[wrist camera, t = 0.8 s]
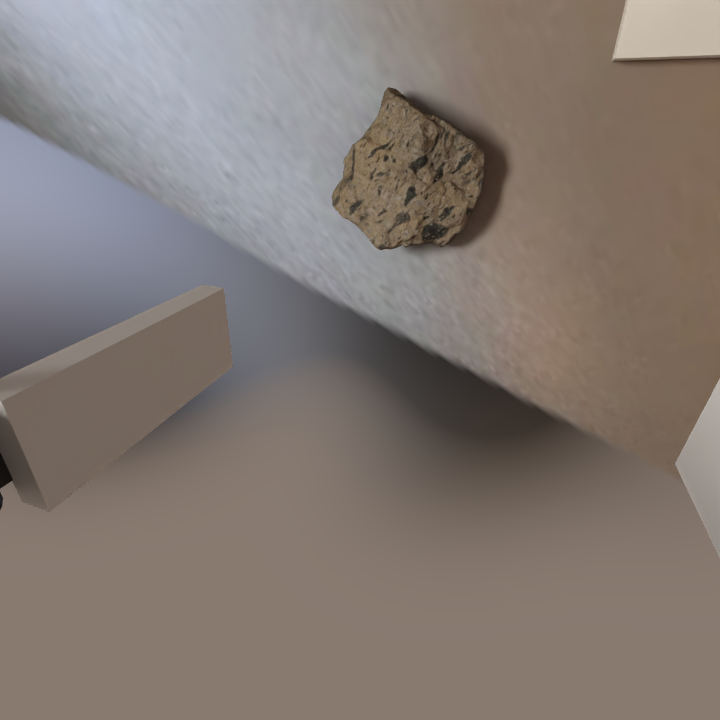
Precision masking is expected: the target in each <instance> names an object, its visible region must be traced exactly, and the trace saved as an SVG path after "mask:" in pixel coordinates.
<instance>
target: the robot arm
mask: <svg viewBox="0 0 720 720" xmlns="http://www.w3.org/2000/svg"><path fill="white" fill-rule="evenodd" d="M232 366H233V364H232V356H231V347H230V338H229V330H228V321H227V313H226V304H225V295H224V288H218V287H212V286H207V285H201V286H199V287H197V288H195V289H192V290H190V291H188V292H186V293H184V294H182V295H180V296H177V297H175V298H173V299H171V300H169V301H167V302H164V303H162V304H160V305H158V306H156V307H154V308H151V309H149V310H147V311H145V312H143V313H141V314H138V315H136V316H134V317H132V318H130V319H128V320H126V321H123V322H121V323H119V324H117V325H115V326H113V327H110V328H108V329H106V330H104V331H102V332H100V333H97V334H95V335H93V336H91V337H89V338H87V339H84V340H82V341H80V342H78V343H76V344H74V345H72V346H69V347H67V348H65V349H63V350H61V351H59V352H56V353H54V354H52V355H50V356H48V357H46V358H43V359H41V360H39V361H37V362H35V363H33V364H31V365H28V366H26V367H24V368H22V369H20V370H18V371H16V372H13V373H11V374H9V375H7V376H5V377H2V378H0V488H2V487H3V486H5V485H6V484H8V483H9V482H11V481H13V483H14V485H15V487H16V489H17V491H18V493H19V496H20V498H21V500H22V502H24V503H27V504H30V505H33V506H35V507H38V508H41V509H43V510H46V511H48V512H50V511H51V510H53V509H54V508H55V507H56V506H58V505H59V504H60V503H61V502H63V501H64V500H65V499H66V498H68V497H69V496H70V495H72V494H73V493H74V492H75V491H77V490H78V489H79V488H80V487H82V486H83V485H84V484H85V483H86V482H87V481H89V480H90V479H92V478H93V477H94V476H95V475H97V474H98V473H99V472H100V471H102V470H103V469H104V468H106V467H107V466H108V465H109V464H111V463H112V462H113V461H114V460H116V459H117V458H118V457H119V456H121V455H122V454H123V453H124V452H126V451H127V450H128V449H129V448H131V447H132V446H133V445H134V444H136V443H137V442H138V441H140V440H141V439H142V438H143V437H145V436H146V435H147V434H148V433H150V432H151V431H152V430H153V429H155V428H156V427H157V426H158V425H160V424H161V423H162V422H163V421H165V420H166V419H167V418H168V417H170V416H171V415H172V414H173V413H175V412H176V411H177V410H178V409H180V408H181V407H182V406H183V405H185V404H186V403H187V402H188V401H190V400H191V399H192V398H193V397H195V396H196V395H197V394H199V393H200V392H201V391H202V390H204V389H205V388H206V387H207V386H209V385H210V384H211V383H212V382H214V381H215V380H216V379H218V378H219V377H220V376H221V375H223V374H224V373H225V372H226V371H228V370H229V369H230V368H231V367H232ZM675 465H676V467H677V469H678V471H679V473H680V475H681V477H682V480H683V482H684V484H685V486H686V488H687V490H688V492H689V494H690V496H691V499H692V500H693V503H694V505H695V507H696V509H697V511H698V513H699V515H700V517H701V520H702V522H703V524H704V526H705V528H706V530H707V532H708V534H709V536H710V538H711V541H712V543H713V545H714V547H715V549H716V551H717V553H718V555H719V558H720V379H719V381H718V383H717V385H716V387H715V389H714V391H713V393H712V394H711V396H710V398H709V400H708V402H707V404H706V406H705V408H704V410H703V412H702V413H701V415H700V417H699V419H698V421H697V423H696V425H695V427H694V429H693V431H692V433H691V434H690V436H689V438H688V440H687V442H686V444H685V446H684V448H683V450H682V452H681V454H680V455H679V457H678V459H677V461H676V463H675ZM2 501H3V497H2V495H1V493H0V509H1V507H2Z"/></svg>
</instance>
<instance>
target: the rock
mask: <svg viewBox="0 0 720 720" xmlns="http://www.w3.org/2000/svg"><path fill="white" fill-rule="evenodd" d="M343 163H344V165H345V167H344V172H343V179H342V180H341V181H340V183H339V184H338V185H337V187H336V189H335V190H334V192H333V195H332V201H333V207H334V208H335V209H336V210H337V211H338V212H339V214H340V215H341V216H342V217H343V218H345V219H348V220H350V221H351V222H353V223H354V224H356V225H357V226H358V227H359V228H360V229H361V230H362V231H363V232H364V233H365V234H366V235H367V237H368V238H369V239H370V241H371V243H372V244H373V245H374V246H375V247H376V248H378V249H379V250H383V249H394V248H397V247H399V246H401V245H404V246H405V247H408V246H409V245H411V244H422V243H428V242H433V243H434V244H435V245H438V246H440V247H444V246H445V245H446V244H448V243H449V242H451V241H452V240H453V239H454V237H455V236H456V234H457V233H459V232H461V231H462V230H463V229H464V228H465V227H466V225H467V222H468V219H469V216H470V214H471V212H472V210H473V208H474V207H475V205H476V204H477V202H478V198H479V195H480V193H481V182H482V179H483V176H484V167H483V166H484V153H483V151H482V150H481V149H480V148H479V147H478V146H477V144H476V143H475V142H474V141H472V140H471V139H470V138H468V137H466V136H464V135H463V133H462V132H461V131H460V130H458V129H456V128H455V127H454V126H451V125H450V124H448V123H447V122H446V121H444V120H442V119H441V118H439V117H437V116H436V115H430V114H424V113H423V112H422V111H421V110H420V109H419V108H418V107H416V106H415V105H414V104H412V103H411V102H410V101H409V100H408V99H406V97H405V96H404V95H403V94H401V93H400V92H399V91H398V90H396V89H393V88H387V89H386V91H385V92H384V96H383V99H382V104H381V108H380V111H379V114H378V116H377V118H376V120H375V121H374V122H373V123H372V125H371V126H370V128H369V129H368V130H367V131H366V133H365V135H364V136H363V137H362V138H361V139H360V140H359V141H358V142H357V143H355V144H353V145H352V147H351V149H350V152H349V153H348V155H347V156H346V157H345V159H344V162H343Z"/></svg>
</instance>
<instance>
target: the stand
mask: <svg viewBox="0 0 720 720" xmlns="http://www.w3.org/2000/svg"><path fill="white" fill-rule="evenodd" d="M689 58H720V0H626V3H625V7H624V11H623V16H622V20H621V24H620V28H619V32H618V37H617V41H616V45H615V49H614V53H613V58H612V61H628V60H658V59H689Z"/></svg>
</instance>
